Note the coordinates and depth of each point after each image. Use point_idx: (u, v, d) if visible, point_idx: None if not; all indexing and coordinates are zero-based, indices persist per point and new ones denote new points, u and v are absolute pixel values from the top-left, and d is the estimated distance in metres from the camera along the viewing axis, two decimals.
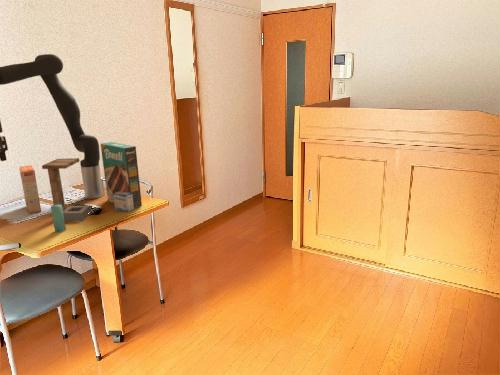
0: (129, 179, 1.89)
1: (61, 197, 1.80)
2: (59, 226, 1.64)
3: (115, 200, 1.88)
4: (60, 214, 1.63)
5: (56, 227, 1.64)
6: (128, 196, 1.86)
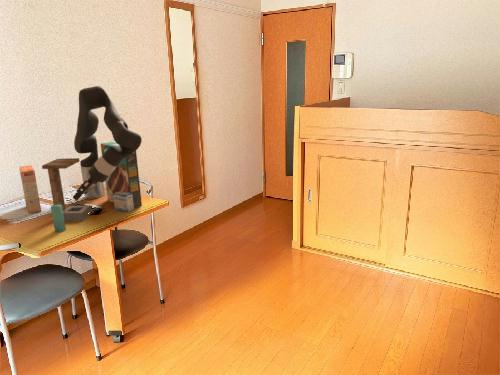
0: (129, 179, 1.89)
1: (61, 197, 1.80)
2: (59, 226, 1.64)
3: (115, 200, 1.88)
4: (60, 214, 1.63)
5: (56, 227, 1.64)
6: (128, 196, 1.86)
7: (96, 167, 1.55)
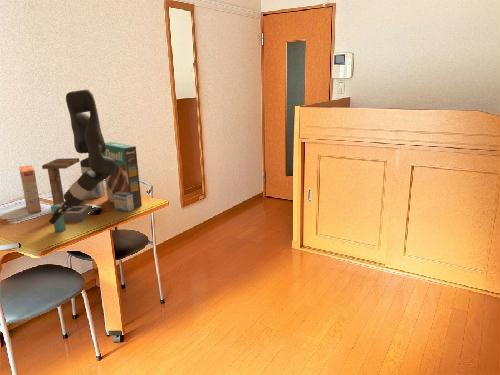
0: (129, 179, 1.89)
1: (61, 197, 1.80)
2: (59, 226, 1.64)
3: (115, 200, 1.88)
4: None
5: (56, 227, 1.64)
6: (128, 196, 1.86)
7: (71, 192, 1.58)
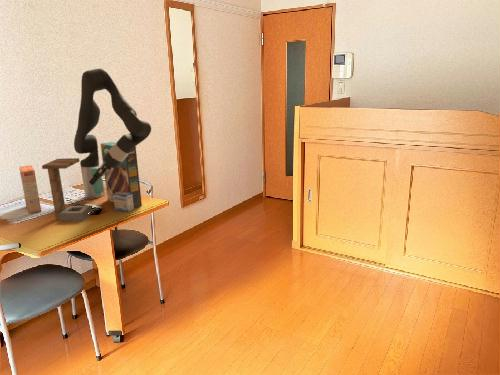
0: (129, 179, 1.89)
1: (61, 197, 1.80)
2: (98, 187, 1.76)
3: (115, 200, 1.88)
4: None
5: (95, 188, 1.75)
6: (128, 196, 1.86)
7: (110, 154, 1.70)
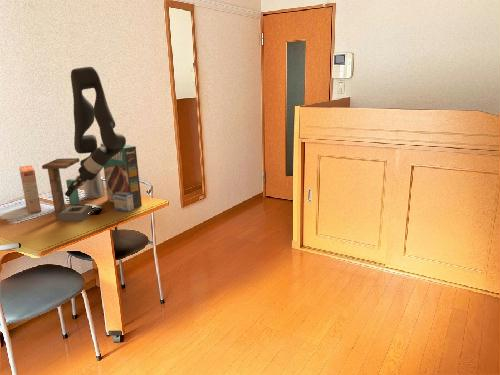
0: (129, 179, 1.89)
1: (61, 197, 1.80)
2: (74, 199, 1.77)
3: (115, 200, 1.88)
4: None
5: (71, 200, 1.77)
6: (128, 196, 1.86)
7: (85, 166, 1.71)
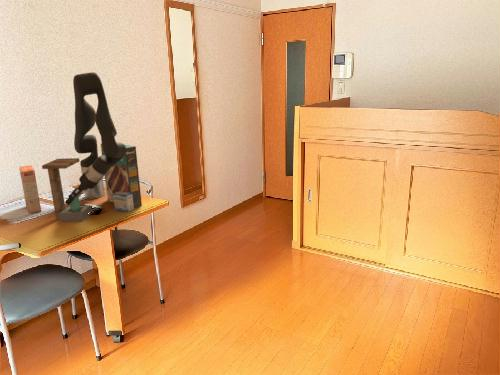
0: (129, 179, 1.89)
1: (61, 197, 1.80)
2: None
3: (115, 200, 1.88)
4: (76, 202, 1.78)
5: None
6: (128, 196, 1.86)
7: (86, 175, 1.72)
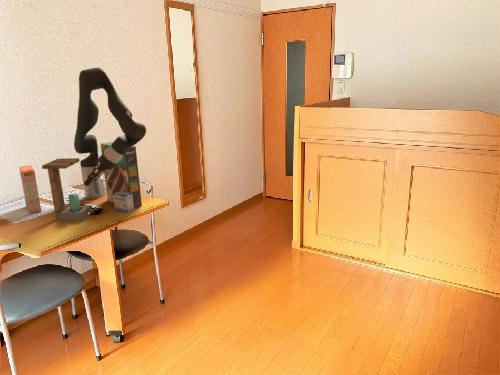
0: (129, 179, 1.89)
1: (61, 197, 1.80)
2: None
3: (115, 200, 1.88)
4: (76, 202, 1.78)
5: None
6: (128, 196, 1.86)
7: (105, 155, 1.70)
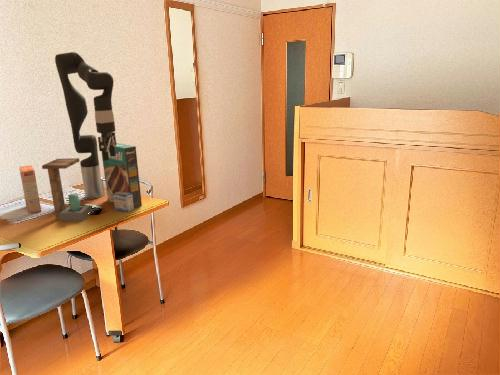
0: (129, 179, 1.89)
1: (61, 197, 1.80)
2: None
3: (115, 200, 1.88)
4: (76, 202, 1.78)
5: None
6: (128, 196, 1.86)
7: (98, 122, 1.64)
